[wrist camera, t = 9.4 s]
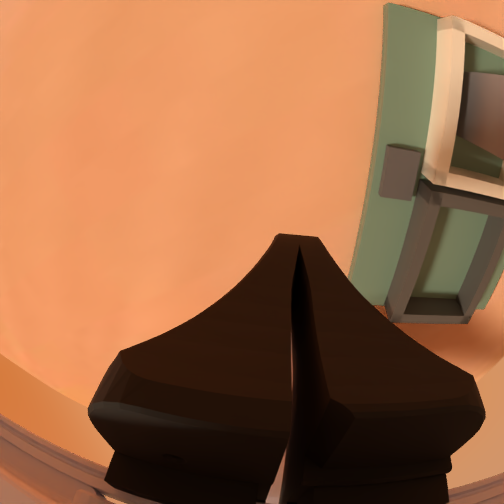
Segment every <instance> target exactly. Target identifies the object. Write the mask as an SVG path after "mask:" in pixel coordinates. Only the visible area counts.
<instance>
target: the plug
mask: <svg viewBox="0 0 504 504" xmlns="http://www.w3.org/2000/svg"><path fill="white" fill-rule="evenodd" d="M456 135H457V136H459V137H461V138H463V139H465V140H467V141H469V142H471V143H473V144H475V145H477V146H479V147H481V148H483V149H484V150H486V151H488V152H490V153H492V154H494V155H495V156H497V157H499V158H501V159H502V160H504V75H496V74H488V73H478V72H466V71H464V72H463V84H462V94H461V103H460V111H459V118H458V125H457V131H456Z"/></svg>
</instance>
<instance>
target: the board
mask: <svg viewBox="0 0 504 504" xmlns="http://www.w3.org/2000/svg"><path fill="white" fill-rule="evenodd" d="M464 71H466V72H478V73H488V74H496V75H504V38H503V37H501V36H499V35H497V34H495V33H493V32H491V31H489V30H487V29H484V28H482V27H480V26H478V25H476V24H473V23H471V22H469V21H466V20H464V19H461V18H459V17H456V16H454V15H451V16H447V17H444V18H440V17H437V16H434V15H431V14H428V13H425V12H421V11H418V10H415V9H411V8H408V7H404V6H400V5H397V4H393V3H387V4H385V5H384V8H383V45H382V63H381V78H380V90H379V100H378V110H377V119H376V127H375V135H374V143H373V150H372V157H371V164H370V170H369V177H368V183H367V189H366V194H365V200H364V205H363V211H362V216H361V221H360V226H359V231H358V236H357V240H356V245H355V250H354V254H353V259H352V263H351V267H350V271H349V276H348V280H349V281H350V282H351V283H352V284H353V285H354V287H355V288H356V289H357V290H358V291H359V292H360V293H361V294H362V295H363V296H364V298H365V299H366V300H367V301H369V302H370V303H371V304H372V305H381V306H385V309H386V312H387V316H388V319H389V321H390V322H393V323H428V324H468V322H469V320H470V319H471V317H472V315H473V313H474V311H475V309H485V307H486V305H487V303H488V301H489V299H490V297H491V295H492V293H493V291H494V289H495V287H496V285H497V283H498V281H499V278H500V276H501V274H502V272H503V270H504V160H502V159H501V158H499V157H497V156H495V155H494V154H492V153H490V152H488V151H486V150H484V149H483V148H481V147H479V146H477V145H475V144H473V143H471V142H469V141H467V140H465V139H463V138H461V137H459V136H457V135H456V131H457V125H458V118H459V111H460V103H461V94H462V84H463V72H464Z"/></svg>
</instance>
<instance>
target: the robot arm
mask: <svg viewBox="0 0 504 504" xmlns="http://www.w3.org/2000/svg"><path fill="white" fill-rule="evenodd" d="M88 416H89V418H90V420H91V422H92V424H93V425H94V427H95V428H96V429H97V431H98V432H99V433H100V434H101V435H102V437H103V438H104V439H105V440H106V441H107V442H108V444H109V445H110V446H111V447H112V448H113V449H114V450H115V452H114V454H113V457H112V460H111V462H110V465H109V468H108V467H105V466H102V465H100V464H97V463H95V462H92V461H90V460H87V459H85V458H82V457H80V456H78V455H76V454H74V453H71V452H69V451H67V450H65V449H63V448H61V447H58V446H57V445H55V444H53V443H51V442H49V441H47V440H45V439H43V438H41V437H39V436H37V435H35V434H33V433H32V432H30V431H28V430H26V429H25V428H23V427H21V426H20V425H18V424H16V423H14V422H13V421H11V420H9V419H8V418H6V417H5V416H3V415H1V414H0V504H114V503H112V502H110V501H107V500H106V498H105V497H104V495H106V496H108V497H111V498H113V499H116V500H119V501H121V502H124V503H127V504H504V473H501V474H498V475H495V476H493V477H490V478H487V479H484V480H480V481H477V482H474V483H471V484H467V485H464V486H460V487H457V488H453V489H449V490H448V486H447V479H446V473H449V472H450V471H451V469H452V463H451V458H450V456H451V455H452V454H453V453H454V452H455V451H457V450H458V449H459V448H460V447H461V446H463V445H464V444H465V443H466V442H467V441H468V440H470V439H471V438H472V437H473V436H474V435H475V434H476V433H477V432H478V430H479V429H480V428H481V426H482V424H483V422H484V420H485V409H484V406H483V402H482V399H481V397H480V394H479V391H478V388H477V385H476V382H475V380H474V377H473V375H471V374H469V373H467V372H466V371H464V370H462V369H460V368H458V367H457V366H455V365H453V364H451V363H449V362H448V361H446V360H444V359H442V358H440V357H439V356H437V355H436V354H434V353H433V352H431V351H430V350H428V349H426V348H425V347H423V346H422V345H420V344H419V343H417V342H416V341H415V340H413V339H412V338H411V337H409V336H408V335H407V334H405V333H404V332H403V331H401V330H400V329H399V328H398V327H396V326H395V325H394V324H393V323H392V322H390V321H389V320H388V319H387V318H386V317H384V316H383V315H382V314H381V313H380V312H379V311H378V310H377V309H376V308H375V307H374V306H373V305H372V304H371V303H370V302H369V301H367V300H366V299H365V298H364V296H363V295H362V294H361V293H360V292H359V291H358V290H357V289H356V288H355V287H354V285H353V284H352V283H351V282H350V281H349V280H348V278H347V277H346V276H345V274H344V273H343V272H342V270H341V269H340V268H339V266H338V265H337V264H336V262H335V261H334V260H333V258H332V257H331V255H330V254H329V252H328V251H327V249H326V248H325V246H324V245H323V243H322V242H321V240H320V239H319V238H318V237H313V236H302V235H291V234H280V233H279V234H278V235H276V236H275V238H274V240H273V242H272V244H271V245H270V247H269V248H268V250H267V251H266V252H265V254H264V255H263V256H262V258H261V259H260V260H259V261H258V263H257V264H256V265H255V266H254V267H253V269H252V270H251V271H250V272H249V273H248V274H247V275H246V276H245V277H244V278H243V279H242V280H241V281H240V282H239V283H238V284H237V285H236V286H235V287H234V288H233V289H231V290H230V291H229V292H228V293H227V294H226V295H224V296H223V297H222V298H221V299H219V300H218V301H217V302H215V303H214V304H213V305H211V306H210V307H208V308H207V309H206V310H204V311H203V312H201V313H200V314H198V315H197V316H195V317H194V318H192V319H190V320H188V321H187V322H185V323H183V324H181V325H179V326H177V327H175V328H173V329H171V330H170V331H168V332H165V333H163V334H161V335H159V336H157V337H154V338H152V339H149V340H147V341H145V342H142V343H140V344H137V345H135V346H132V347H130V348H127V349H124V350H121V351H120V352H119V353H118V355H117V357H116V358H115V359H114V361H113V362H112V364H111V365H110V366H109V368H108V370H107V372H106V373H105V375H104V377H103V379H102V381H101V383H100V385H99V387H98V389H97V391H96V393H95V395H94V397H93V399H92V401H91V403H90V405H89V407H88Z"/></svg>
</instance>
